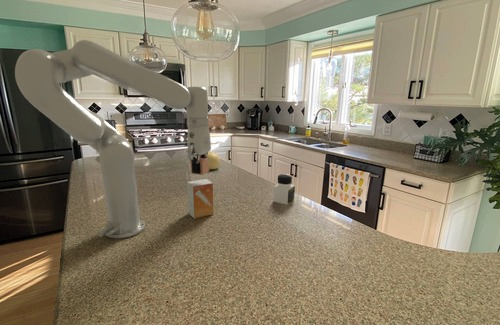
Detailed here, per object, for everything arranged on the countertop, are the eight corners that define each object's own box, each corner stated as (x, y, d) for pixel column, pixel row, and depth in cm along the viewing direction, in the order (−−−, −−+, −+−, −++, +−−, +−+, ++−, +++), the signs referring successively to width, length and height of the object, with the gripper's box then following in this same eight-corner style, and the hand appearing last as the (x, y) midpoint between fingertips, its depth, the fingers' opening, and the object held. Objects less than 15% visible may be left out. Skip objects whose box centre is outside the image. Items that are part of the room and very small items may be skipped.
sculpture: (212, 165, 174) (211, 149, 171) (223, 168, 166) (223, 152, 163) (197, 168, 166) (197, 151, 163) (209, 172, 158) (208, 154, 155)
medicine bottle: (287, 205, 111) (289, 178, 108) (272, 201, 114) (273, 175, 112) (294, 200, 117) (295, 174, 114) (279, 196, 120) (281, 171, 117)
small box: (194, 219, 97) (192, 186, 94) (188, 213, 102) (186, 181, 99) (213, 214, 101) (213, 182, 98) (207, 208, 107) (206, 178, 103)
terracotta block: (203, 174, 95) (202, 161, 94) (190, 173, 96) (190, 160, 95) (209, 171, 99) (208, 158, 98) (197, 170, 101) (196, 157, 100)
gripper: (196, 125, 84) (198, 178, 89) (216, 120, 100) (218, 166, 105) (175, 124, 86) (179, 176, 91) (199, 120, 102) (201, 164, 107)
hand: (199, 170), depth 98 cm, fingers closed on terracotta block, 5 cm apart
